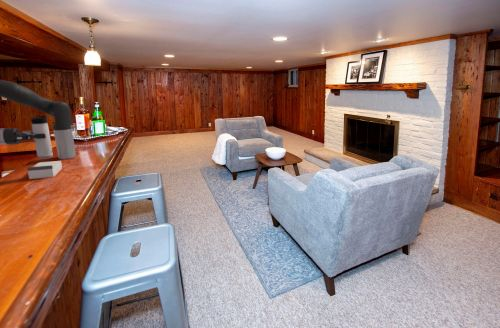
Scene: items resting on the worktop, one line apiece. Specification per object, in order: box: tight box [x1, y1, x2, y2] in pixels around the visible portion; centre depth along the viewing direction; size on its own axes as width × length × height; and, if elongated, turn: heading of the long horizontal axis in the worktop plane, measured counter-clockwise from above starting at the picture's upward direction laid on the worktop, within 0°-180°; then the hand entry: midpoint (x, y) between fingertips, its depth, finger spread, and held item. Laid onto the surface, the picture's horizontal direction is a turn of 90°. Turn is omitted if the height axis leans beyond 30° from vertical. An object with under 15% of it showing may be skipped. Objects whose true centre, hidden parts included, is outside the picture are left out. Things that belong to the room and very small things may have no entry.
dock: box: [26, 160, 63, 180], centre depth 149 cm, size 16×10×6 cm, turn 19°
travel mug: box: [30, 114, 54, 160], centre depth 143 cm, size 6×7×20 cm
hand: (47, 134), depth 143 cm, fingers closed on travel mug, 6 cm apart
